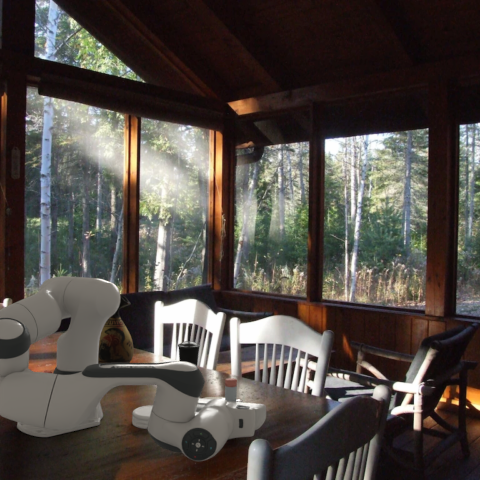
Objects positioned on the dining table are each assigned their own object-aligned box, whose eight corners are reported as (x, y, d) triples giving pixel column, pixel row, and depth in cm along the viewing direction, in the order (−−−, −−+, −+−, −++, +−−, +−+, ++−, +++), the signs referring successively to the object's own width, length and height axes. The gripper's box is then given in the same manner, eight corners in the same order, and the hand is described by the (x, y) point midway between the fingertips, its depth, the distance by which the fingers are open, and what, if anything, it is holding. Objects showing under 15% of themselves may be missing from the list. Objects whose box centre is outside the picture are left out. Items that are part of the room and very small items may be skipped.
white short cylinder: (152, 414, 151) (152, 402, 151) (176, 422, 145) (177, 410, 145) (124, 423, 143) (124, 410, 143) (148, 432, 137) (149, 419, 137)
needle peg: (230, 437, 134) (232, 382, 134) (221, 434, 136) (222, 379, 136) (238, 433, 137) (239, 379, 137) (229, 430, 138) (230, 377, 138)
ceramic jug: (138, 367, 203) (140, 290, 203) (125, 378, 188) (127, 294, 188) (95, 365, 205) (97, 288, 205) (79, 376, 190) (81, 292, 190)
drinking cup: (172, 385, 180) (173, 326, 180) (185, 380, 187) (186, 323, 187) (191, 388, 177) (192, 329, 177) (203, 383, 184) (204, 325, 184)
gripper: (175, 428, 126) (192, 410, 139) (259, 437, 122) (269, 417, 135) (175, 402, 126) (193, 386, 139) (260, 409, 121) (270, 392, 135)
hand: (231, 401), depth 137 cm, fingers closed on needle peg, 3 cm apart
